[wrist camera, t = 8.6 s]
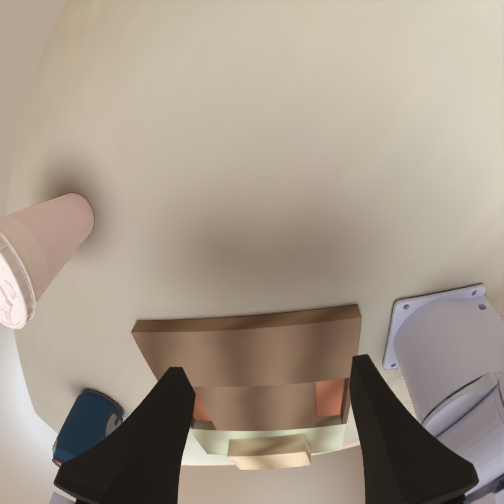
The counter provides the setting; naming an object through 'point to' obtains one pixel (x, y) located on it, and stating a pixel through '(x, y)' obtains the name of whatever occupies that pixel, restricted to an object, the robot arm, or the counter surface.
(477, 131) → the counter surface
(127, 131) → the counter surface
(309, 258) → the counter surface
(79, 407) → the soda can
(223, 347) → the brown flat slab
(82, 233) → the smoothie
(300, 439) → the block
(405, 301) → the robot arm
